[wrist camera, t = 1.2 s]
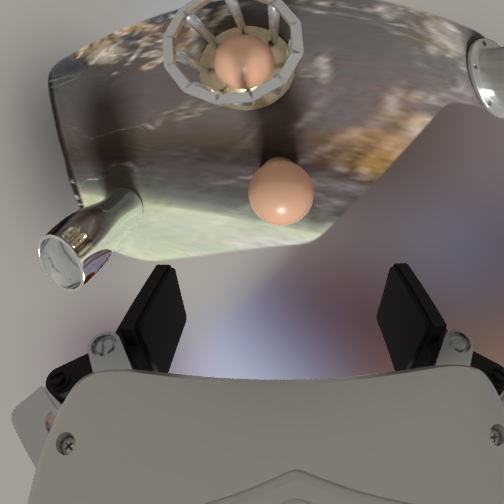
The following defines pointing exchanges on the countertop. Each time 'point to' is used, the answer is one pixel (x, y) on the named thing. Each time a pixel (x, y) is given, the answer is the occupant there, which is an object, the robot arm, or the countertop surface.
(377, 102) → the countertop surface
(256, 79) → the ball
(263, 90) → the cage tube
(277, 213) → the terracotta ball
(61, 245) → the beer glass
